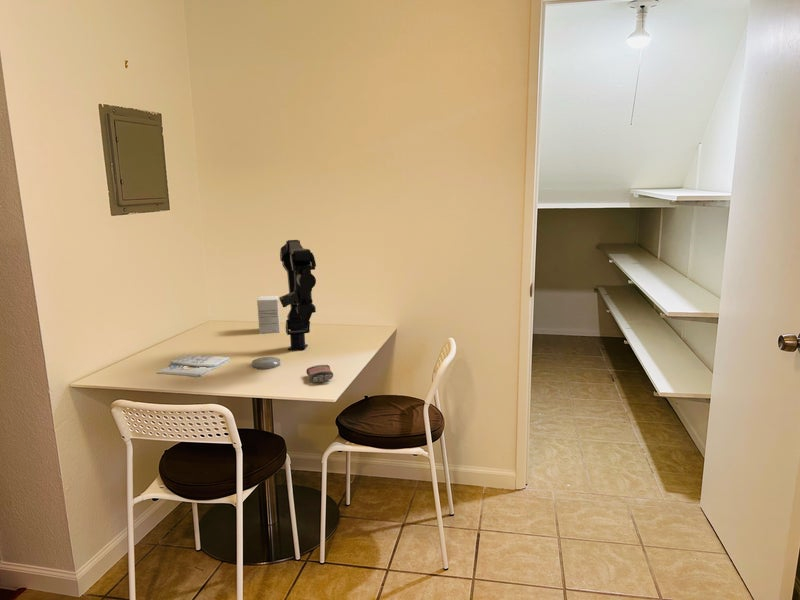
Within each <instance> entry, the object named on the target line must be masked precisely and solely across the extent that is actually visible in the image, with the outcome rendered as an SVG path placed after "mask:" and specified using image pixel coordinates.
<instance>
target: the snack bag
mask: <svg viewBox="0 0 800 600" xmlns="http://www.w3.org/2000/svg"><path fill="white" fill-rule="evenodd" d="M231 360H232V359H230V357H229V356H212V355H193V354H192V355H191V354H186V355H184V356H180V357H179V358H177V359H174V360H172V361H170V365H168V366H167V367H165V368H163V369H160V370H158V371H156V374H159V373H167V374H166V375H172V374H179V375H178V376H184V375H188V377H192V376H195V377H196V378H199V377H200V378H201V377H203V376H204V374H205V375H207V374H208V373H210V372H212V371H214V370H216V369H218V368H220V367H222V366H223V364H224V365H226V364H228V363H230V362H231ZM229 361H230V362H229ZM227 362H228V363H227ZM225 363H226V364H225ZM221 365H222V366H221ZM184 366H190V367H192V366H194V367H193V368H194V369H184V368H183V367H184ZM219 366H220V367H219ZM198 367H206V368H198ZM217 367H218V368H217ZM215 368H216V369H215ZM213 369H214V370H213ZM211 370H212V371H211ZM209 371H210V372H209ZM207 372H208V373H207ZM206 373H207V374H206ZM202 375H203V376H202Z"/></svg>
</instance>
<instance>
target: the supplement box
mask: <svg viewBox="0 0 800 600" xmlns="http://www.w3.org/2000/svg"><path fill="white" fill-rule="evenodd" d="M256 303H257V318H258V332H259V334H260V333H261V334H274V333H280V331H281V324H280V307H279V296H278V295H261V296H260V295H259V296H258V297H257V300H256Z"/></svg>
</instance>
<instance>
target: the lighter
mask: <svg viewBox="0 0 800 600" xmlns="http://www.w3.org/2000/svg"><path fill="white" fill-rule="evenodd" d="M305 372H306V375H307V376H308V380H309V382H311V383H322V382H327V381H329V380H332V379H333V377H334V373H333V371H332V369H331V367H330V366H329V365H328V364H318V365H313V366H310V367H307V369H306V371H305Z"/></svg>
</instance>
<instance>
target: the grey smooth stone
mask: <svg viewBox="0 0 800 600" xmlns="http://www.w3.org/2000/svg"><path fill="white" fill-rule="evenodd" d="M279 366H281V359H280V358H279V357H276V356H264V357H262V356H261V357H258V358H255V359H253V360H252V361H251V367H252V369H255V368H257V369H256V370H270V369H275V368H278V367H279Z"/></svg>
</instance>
